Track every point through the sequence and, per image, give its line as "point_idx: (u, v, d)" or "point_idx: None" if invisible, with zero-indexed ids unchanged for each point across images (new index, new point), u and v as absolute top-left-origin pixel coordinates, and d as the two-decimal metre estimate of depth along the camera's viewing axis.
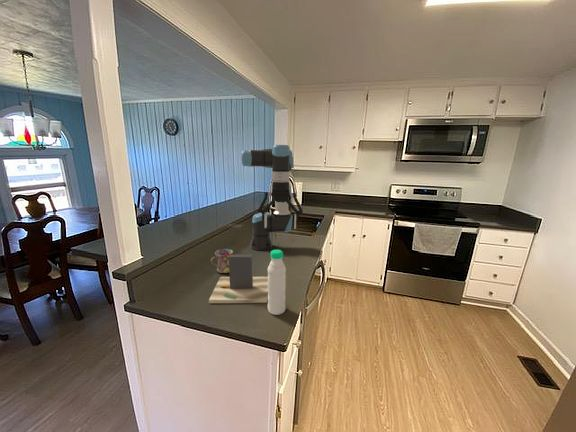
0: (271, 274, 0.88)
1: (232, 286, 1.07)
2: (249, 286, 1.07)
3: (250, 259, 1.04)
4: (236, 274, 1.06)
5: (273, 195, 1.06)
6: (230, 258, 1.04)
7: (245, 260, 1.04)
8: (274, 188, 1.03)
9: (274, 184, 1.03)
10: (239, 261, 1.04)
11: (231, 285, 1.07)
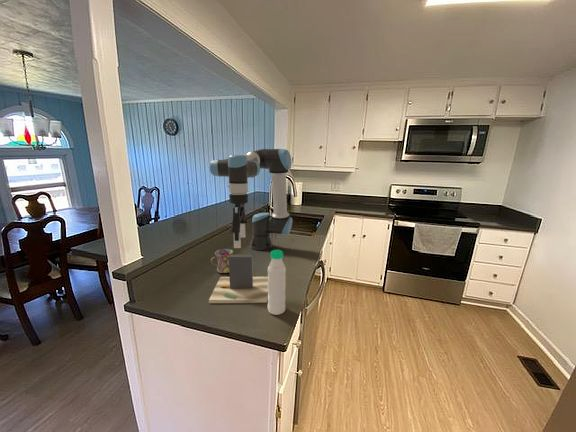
0: (271, 274, 0.88)
1: (232, 286, 1.07)
2: (249, 286, 1.07)
3: (250, 259, 1.04)
4: (236, 274, 1.06)
5: None
6: (230, 258, 1.04)
7: (245, 260, 1.04)
8: None
9: None
10: (239, 261, 1.04)
11: (231, 285, 1.07)
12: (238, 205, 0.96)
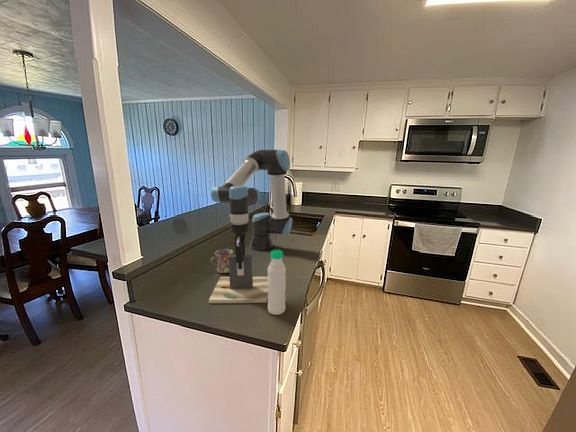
0: (271, 274, 0.88)
1: (232, 286, 1.07)
2: (249, 286, 1.07)
3: (250, 259, 1.04)
4: (236, 274, 1.06)
5: None
6: (230, 258, 1.04)
7: (245, 260, 1.04)
8: None
9: None
10: None
11: (231, 285, 1.07)
12: (239, 235, 0.99)
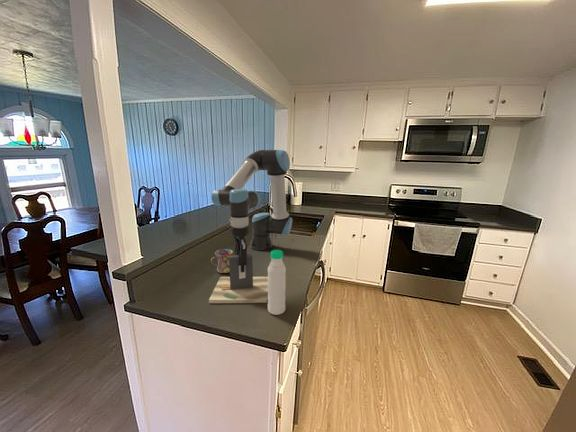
0: (271, 274, 0.88)
1: (232, 287, 1.06)
2: (250, 285, 1.08)
3: (251, 258, 1.05)
4: (237, 274, 1.05)
5: (236, 237, 1.06)
6: (230, 259, 1.03)
7: None
8: None
9: None
10: None
11: (231, 286, 1.06)
12: (243, 237, 1.00)
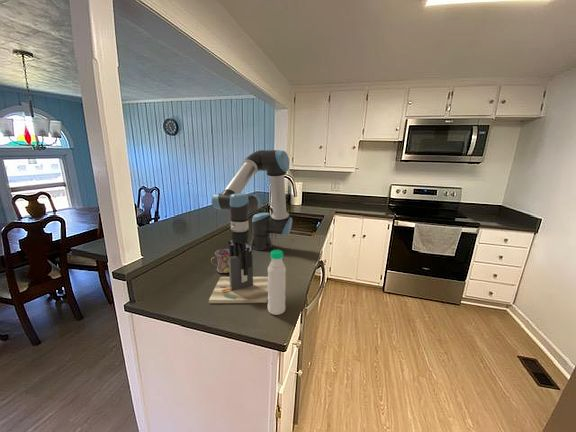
0: (271, 274, 0.88)
1: (234, 288, 1.05)
2: (250, 284, 1.09)
3: None
4: (238, 275, 1.05)
5: (233, 242, 1.05)
6: (232, 260, 1.02)
7: None
8: (231, 236, 1.02)
9: None
10: (241, 261, 1.04)
11: (233, 287, 1.05)
12: (246, 241, 1.01)
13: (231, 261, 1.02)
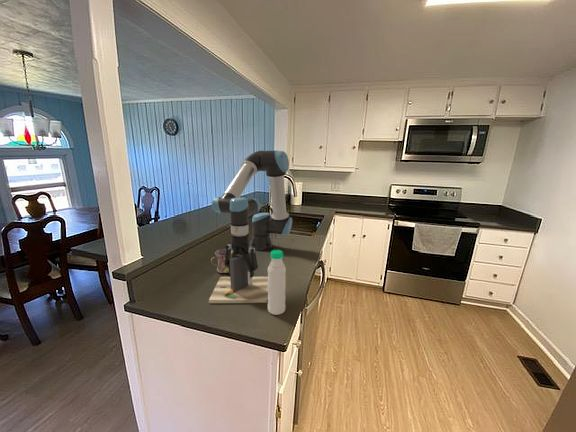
0: (271, 274, 0.88)
1: (236, 289, 1.05)
2: None
3: (250, 256, 1.08)
4: (239, 275, 1.05)
5: (232, 247, 1.04)
6: (234, 261, 1.01)
7: None
8: (231, 241, 1.02)
9: (231, 237, 1.01)
10: (242, 261, 1.04)
11: (235, 288, 1.04)
12: (248, 244, 1.03)
13: (234, 262, 1.01)
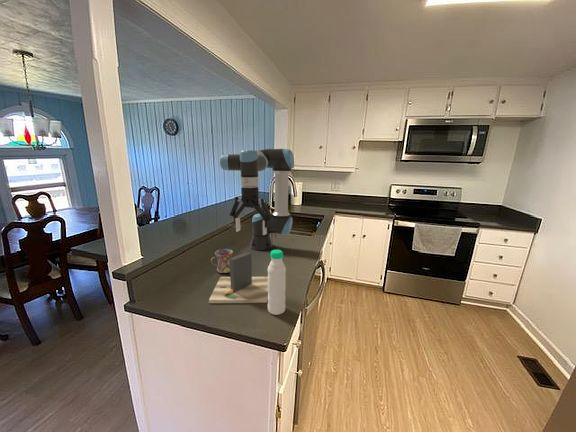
0: (271, 274, 0.88)
1: (236, 289, 1.05)
2: (249, 282, 1.10)
3: (250, 256, 1.08)
4: (239, 275, 1.05)
5: (242, 200, 1.06)
6: (234, 261, 1.01)
7: (246, 258, 1.06)
8: (241, 193, 1.03)
9: (241, 189, 1.03)
10: (242, 261, 1.04)
11: (235, 288, 1.04)
12: None
13: (234, 262, 1.01)
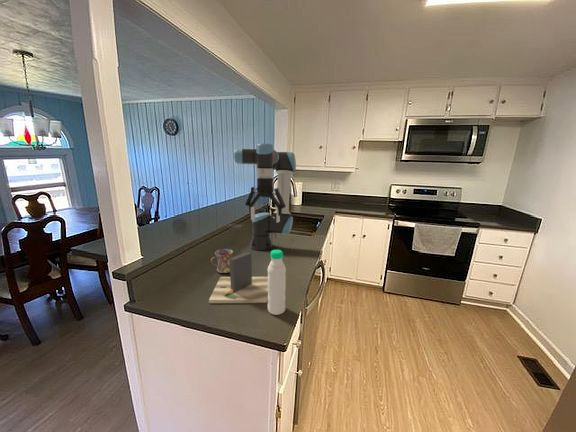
0: (271, 274, 0.88)
1: (236, 289, 1.05)
2: (249, 282, 1.10)
3: (250, 256, 1.08)
4: (239, 275, 1.05)
5: (258, 190, 1.15)
6: (234, 261, 1.01)
7: (246, 258, 1.06)
8: (257, 183, 1.12)
9: (257, 180, 1.12)
10: (242, 261, 1.04)
11: (235, 288, 1.04)
12: (272, 187, 1.14)
13: (234, 262, 1.01)
